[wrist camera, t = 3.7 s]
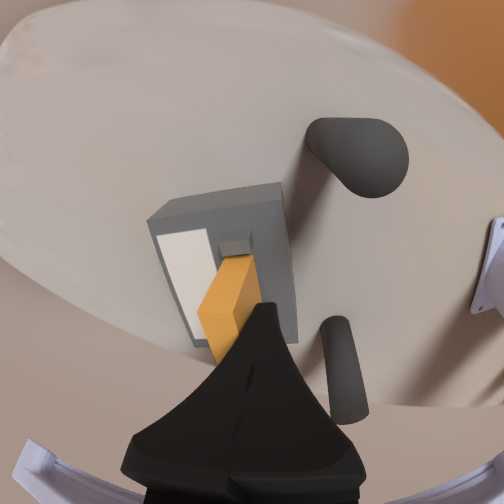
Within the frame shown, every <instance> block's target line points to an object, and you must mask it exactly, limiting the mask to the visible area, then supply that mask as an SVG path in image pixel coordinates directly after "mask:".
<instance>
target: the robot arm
mask: <svg viewBox="0 0 504 504" xmlns="http://www.w3.org/2000/svg"><path fill="white" fill-rule="evenodd" d="M493 308H496V309H497V310H498V312H499V313H500V314H501V316H502V317H503V318H504V217H498V218H495V219H494V220H493V222H492V226H491V232H490V237H489V242H488V247H487V252H486V256H485V260H484V264H483V268H482V272H481V276H480V279H479V283H478V286H477V289H476V293H475V296H474V299H473V302H472V305H471V308H470V311H471V313H472V314H477V313H480V312H484V311H487V310H490V309H493ZM120 470H121V472H122V473H123V474H124V475H126V476H127V477H129V478H130V479H132V480H134V481H136V482H138V483H140V484H141V485H143V486H145V487H147V491H146V495H142V494H139V493H136V492H133V491H130V490H127V489H124V488H122V487H119V486H116V485H114V484H111V483H109V482H106V481H104V480H102V479H99V478H97V477H95V476H93V475H91V474H88V473H86V472H84V471H82V470H80V469H78V468H76V467H74V466H72V465H70V464H69V463H67V462H65V461H63V460H61V459H59V458H58V457H56V455H54V454H53V453H51V452H50V451H49V450H47V449H46V448H44V447H43V446H41V445H40V444H38V443H36V442H35V441H33V440H32V439H30V438H29V439H28V441H27V443H26V445H25V447H24V449H23V451H22V453H21V455H20V458H19V460H18V462H17V464H16V466H15V469H14V471H13V473H12V477H13V478H14V479H15V480H16V481H17V482H18V483H20V484H21V485H22V486H23V487H24V488H25V489H26V490H27V491H28V492H30V494H31V495H32V496H33V497H35V498H36V499H37V500H38V501H39V502H40V503H41V504H358V499H359V498H360V491H359V486H360V485H361V484H362V483H363V482H364V481H365V480H366V472H365V468H364V465H363V463H362V460H361V458H360V456H359V454H358V453H357V450H356V449H355V447H354V445H353V443H352V441H351V440H349V438H348V437H347V436H346V435H345V434H344V433H343V432H342V431H341V430H340V428H339V427H338V426H337V425H336V424H335V423H334V421H333V420H332V419H331V418H330V416H329V415H328V414H327V413H326V411H325V410H324V409H323V407H322V406H321V405H320V403H319V402H318V400H317V399H316V398H315V396H314V395H313V393H312V392H311V390H310V389H309V387H308V386H307V384H306V382H305V381H304V379H303V377H302V375H301V374H300V372H299V370H298V368H297V366H296V364H295V363H294V361H293V358H292V356H291V354H290V352H289V350H288V347H287V345H286V343H285V340H284V337H283V334H282V332H281V329H280V322H279V316H278V309H277V304H276V303H275V302H265V303H257V304H256V305H255V306H254V308H253V310H252V313H251V315H250V316H249V318H248V320H247V322H246V324H245V326H244V327H243V329H242V331H241V332H240V334H239V336H238V337H237V339H236V341H235V342H234V344H233V345H232V347H231V348H230V349H229V351H228V352H227V354H226V355H225V356H224V358H223V359H222V360H221V362H220V363H219V364H218V366H217V367H216V368H215V369H214V370H213V372H212V373H211V374H210V375H209V376H208V377H207V378H206V379H205V381H204V382H203V383H202V384H201V385H200V386H199V387H198V388H197V389H196V390H195V391H194V392H193V393H192V394H191V395H189V396H188V397H187V398H186V399H185V400H184V401H183V402H181V403H180V404H179V405H178V406H176V407H175V408H174V409H173V410H171V411H170V412H169V413H167V414H166V415H165V416H163V417H162V418H161V419H159V420H158V421H156V422H155V423H153V424H152V425H150V426H148V427H147V428H145V429H143V430H142V431H140V432H138V433H137V434H135V435H133V437H132V439H131V441H130V443H129V446H128V448H127V451H126V454H125V457H124V460H123V463H122V466H121V469H120ZM384 504H504V451H503V452H501V453H500V454H498V455H497V456H496V457H495V458H494V459H493V460H491V461H489V462H488V463H486V464H484V465H482V466H480V467H479V468H477V469H475V470H473V471H471V472H469V473H467V474H465V475H463V476H460V477H458V478H456V479H454V480H451V481H449V482H447V483H444V484H442V485H440V486H437V487H435V488H432V489H429V490H426V491H424V492H421V493H418V494H415V495H412V496H409V497H406V498H402V499H399V500H395V501H392V502H388V503H384Z"/></svg>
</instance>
